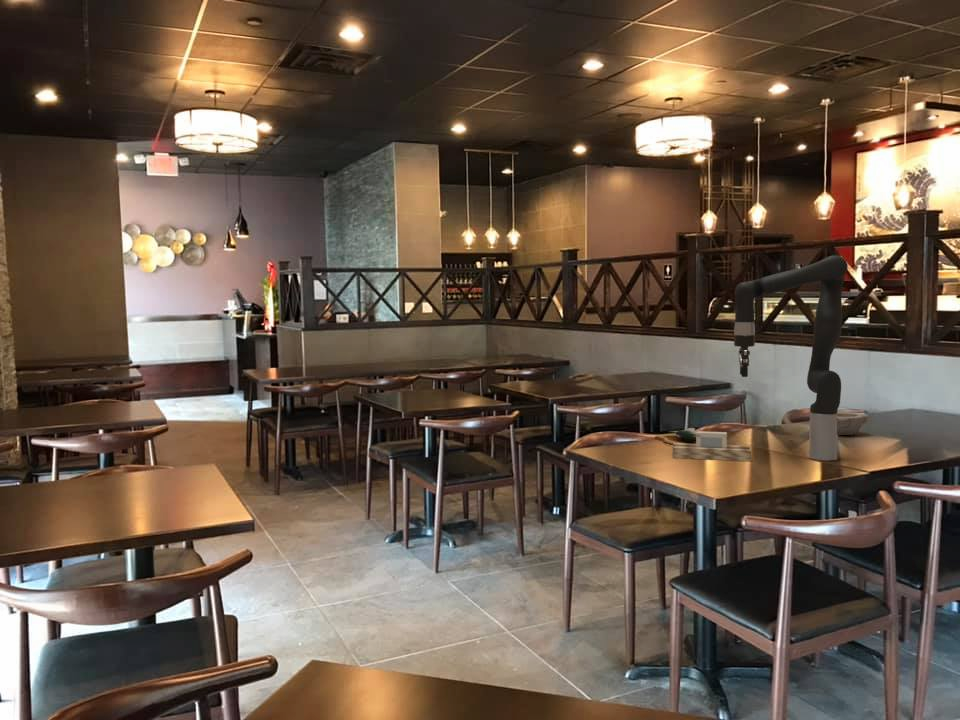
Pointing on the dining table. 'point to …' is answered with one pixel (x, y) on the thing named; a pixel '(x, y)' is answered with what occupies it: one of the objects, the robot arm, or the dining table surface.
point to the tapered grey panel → (711, 439)
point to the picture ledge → (712, 452)
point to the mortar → (850, 422)
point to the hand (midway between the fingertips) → (743, 375)
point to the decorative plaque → (679, 437)
